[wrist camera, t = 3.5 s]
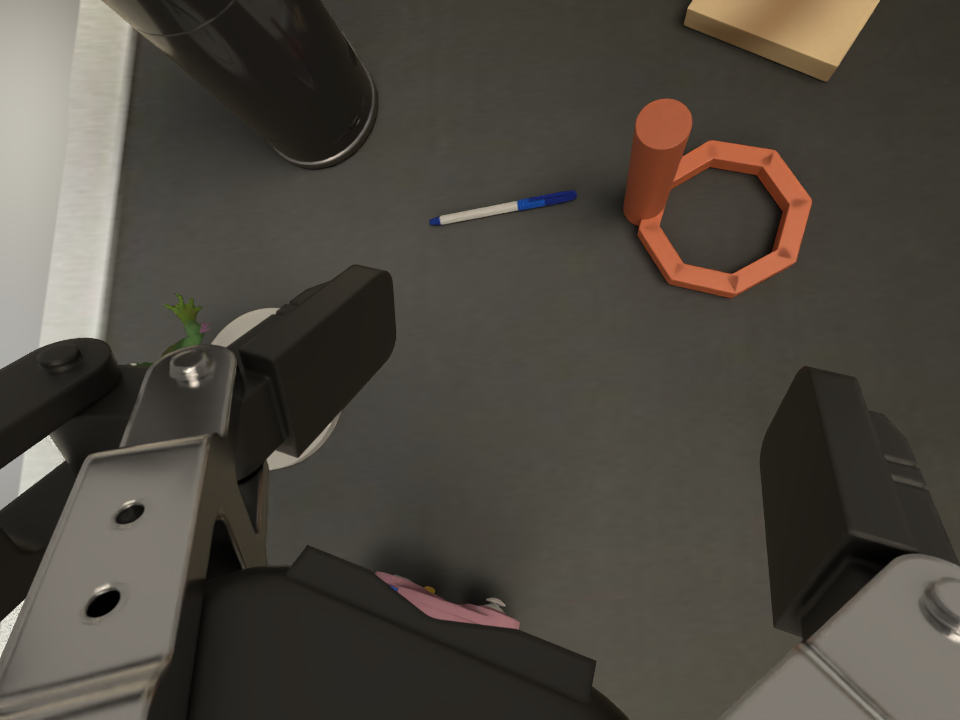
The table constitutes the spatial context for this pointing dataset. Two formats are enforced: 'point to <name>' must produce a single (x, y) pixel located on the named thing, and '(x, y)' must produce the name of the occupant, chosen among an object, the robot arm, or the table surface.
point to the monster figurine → (224, 339)
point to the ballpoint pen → (506, 207)
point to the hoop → (665, 168)
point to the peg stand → (786, 29)
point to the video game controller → (449, 604)
